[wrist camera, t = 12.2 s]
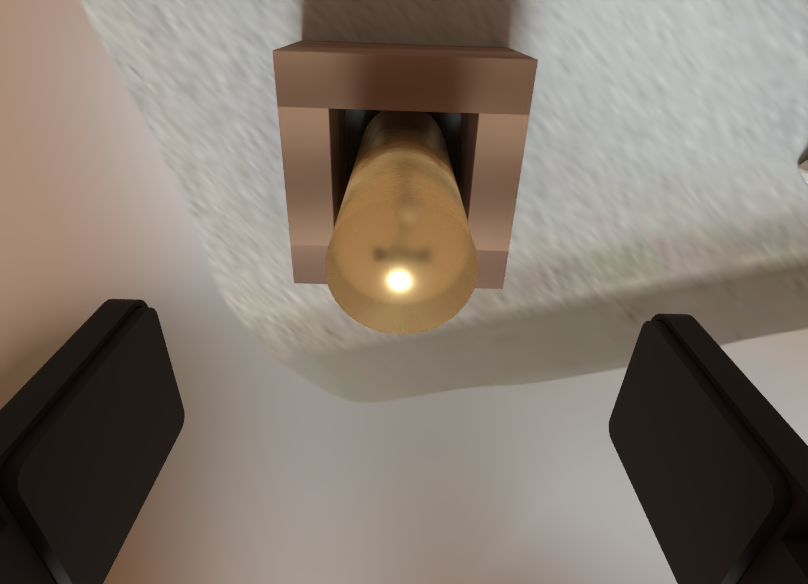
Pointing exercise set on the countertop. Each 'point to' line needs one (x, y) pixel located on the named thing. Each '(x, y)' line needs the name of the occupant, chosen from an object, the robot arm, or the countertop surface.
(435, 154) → the brass peg
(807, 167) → the skincare box
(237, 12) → the countertop surface
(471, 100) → the walnut well block
